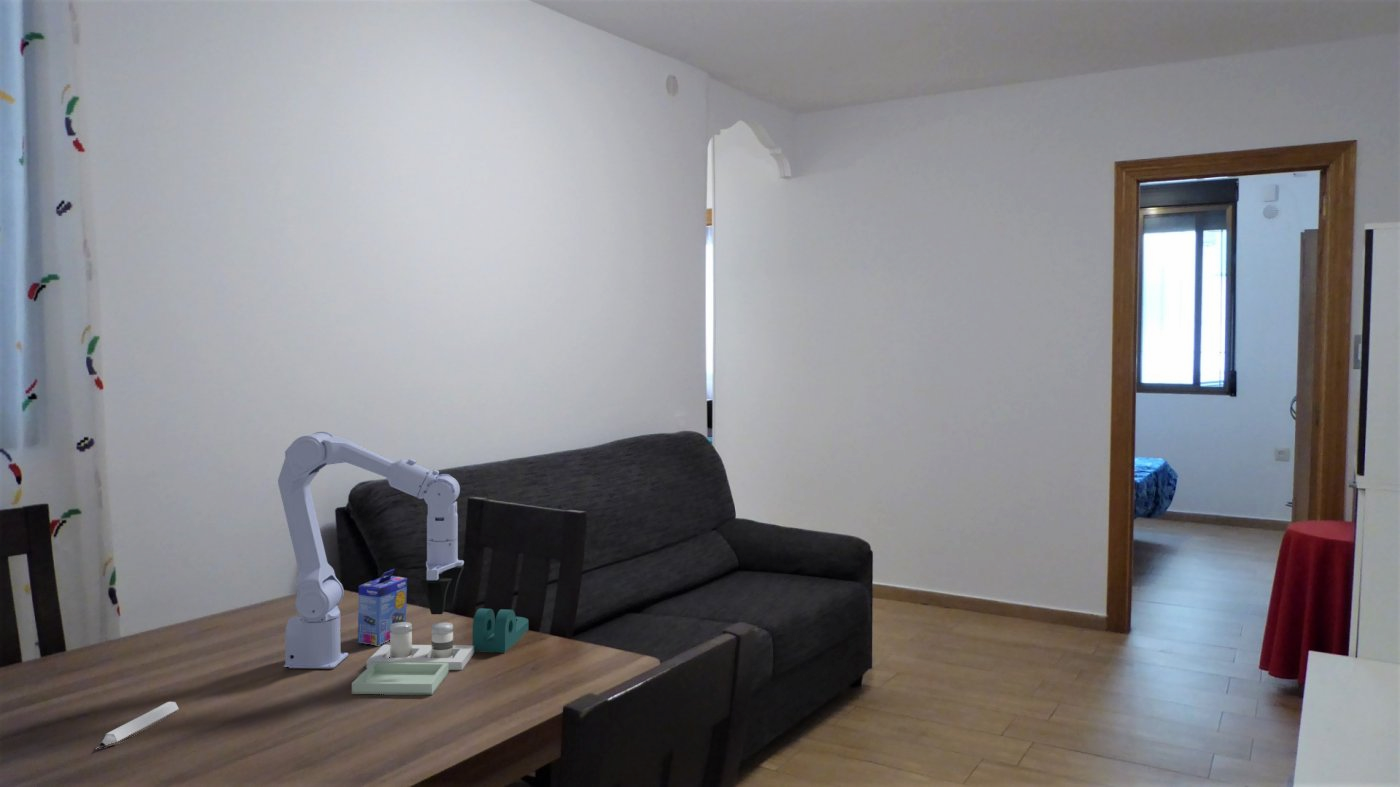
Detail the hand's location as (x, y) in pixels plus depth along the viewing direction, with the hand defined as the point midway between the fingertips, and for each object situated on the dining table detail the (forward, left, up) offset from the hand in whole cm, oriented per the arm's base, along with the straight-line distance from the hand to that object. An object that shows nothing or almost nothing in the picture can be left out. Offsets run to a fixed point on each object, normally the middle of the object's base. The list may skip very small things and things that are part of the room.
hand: (442, 608), depth 183 cm
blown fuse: (0, 0, -10) cm, 10 cm away
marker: (-39, -34, -11) cm, 53 cm away
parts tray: (-4, -12, -10) cm, 17 cm away
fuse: (-8, 0, -10) cm, 13 cm away
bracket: (+9, +15, -11) cm, 20 cm away
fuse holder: (-4, 0, -10) cm, 11 cm away
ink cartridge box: (-16, +14, -11) cm, 23 cm away
